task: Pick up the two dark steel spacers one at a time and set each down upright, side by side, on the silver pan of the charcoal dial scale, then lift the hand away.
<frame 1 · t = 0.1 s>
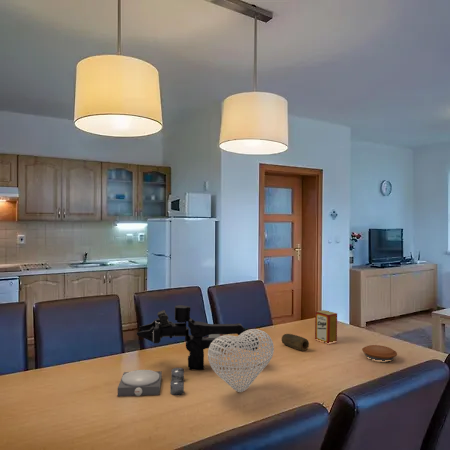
hand: (138, 330, 171), 17 cm above the table, tool horizontal, fingers open, 9 cm apart
dial scale: (140, 386, 152), on the table
small box: (215, 352, 194), on the table
steel spacer 1: (177, 379, 160), on the table
steel spacer 2: (177, 392, 148), on the table
pie: (379, 359, 188), on the table
heart: (241, 392, 149), on the table
baking soda box: (325, 341, 215), on the table
stone weight: (294, 348, 203), on the table
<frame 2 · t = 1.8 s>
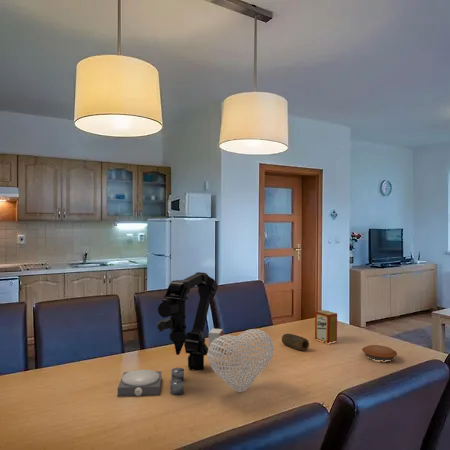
hand: (178, 350, 160), 12 cm above the table, tool pointing down, fingers open, 9 cm apart
nothing on the table moved.
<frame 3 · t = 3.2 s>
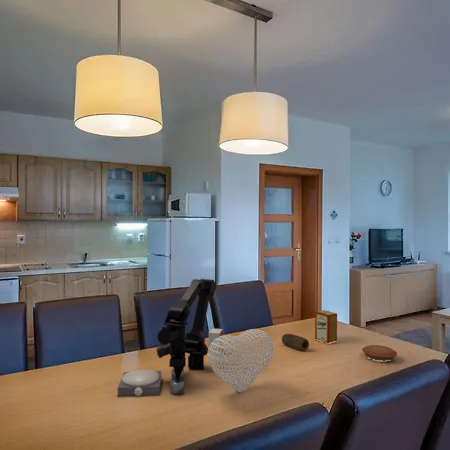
hand: (177, 376, 160), 1 cm above the table, tool pointing down, fingers closed on steel spacer 1, 5 cm apart
steel spacer 1: (177, 379, 160), on the table, touching gripper
everything else where it was.
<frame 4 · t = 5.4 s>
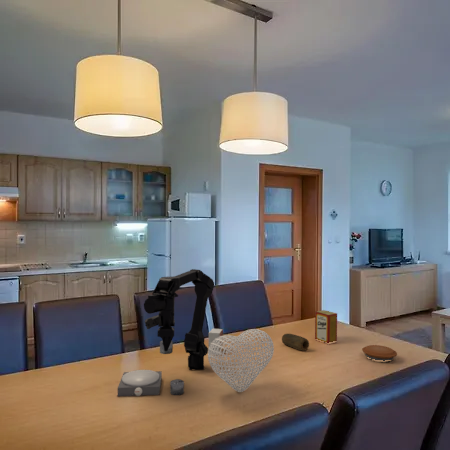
hand: (166, 348, 156), 13 cm above the table, tool pointing down, fingers closed on steel spacer 1, 5 cm apart
steel spacer 1: (166, 352, 156), point 12 cm above the table, touching gripper
everything else where it was.
when the fingers open (6 cm above the table, at t = 7.5 s): steel spacer 1 stays where it is, resting on dial scale.
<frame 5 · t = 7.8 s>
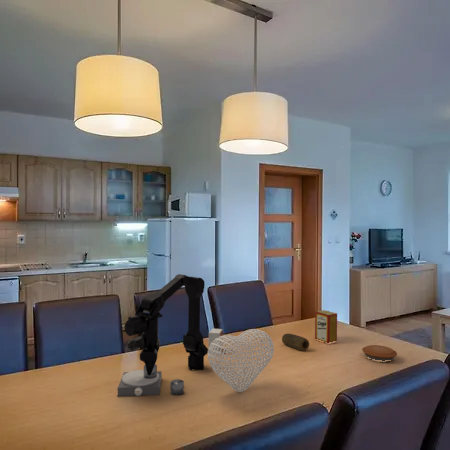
hand: (150, 370, 153), 6 cm above the table, tool pointing down, fingers open, 9 cm apart
steel spacer 1: (150, 376, 153), point 4 cm above the table, touching dial scale
everything else where it was.
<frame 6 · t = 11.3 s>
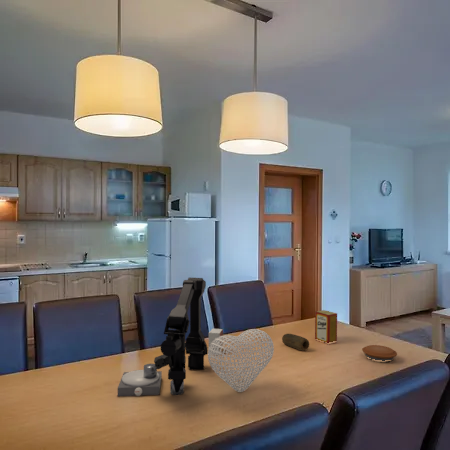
hand: (177, 389, 148), 1 cm above the table, tool pointing down, fingers closed on steel spacer 2, 5 cm apart
steel spacer 2: (177, 392, 148), on the table, touching gripper
everything else where it was.
when the fingers open (6 cm above the table, at t = 15.8 s): steel spacer 2 stays where it is, resting on dial scale.
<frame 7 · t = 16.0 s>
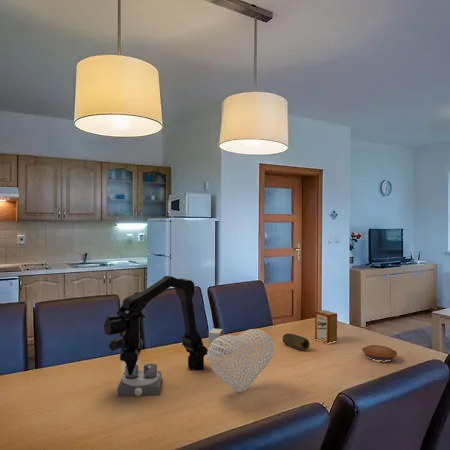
hand: (131, 371, 152), 6 cm above the table, tool pointing down, fingers open, 7 cm apart
steel spacer 2: (131, 376, 152), point 4 cm above the table, touching dial scale
everything else where it was.
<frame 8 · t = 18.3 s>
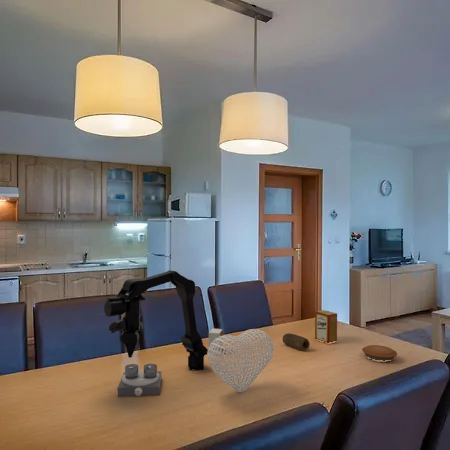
hand: (131, 353, 152), 13 cm above the table, tool pointing down, fingers open, 9 cm apart
nothing on the table moved.
at the end: steel spacer 1 inside the target area on the dial scale (3.5 cm from its centre), point 4.0 cm above the dial scale's base; steel spacer 2 inside the target area on the dial scale (3.5 cm from its centre), point 4.0 cm above the dial scale's base; the gripper is holding nothing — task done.
